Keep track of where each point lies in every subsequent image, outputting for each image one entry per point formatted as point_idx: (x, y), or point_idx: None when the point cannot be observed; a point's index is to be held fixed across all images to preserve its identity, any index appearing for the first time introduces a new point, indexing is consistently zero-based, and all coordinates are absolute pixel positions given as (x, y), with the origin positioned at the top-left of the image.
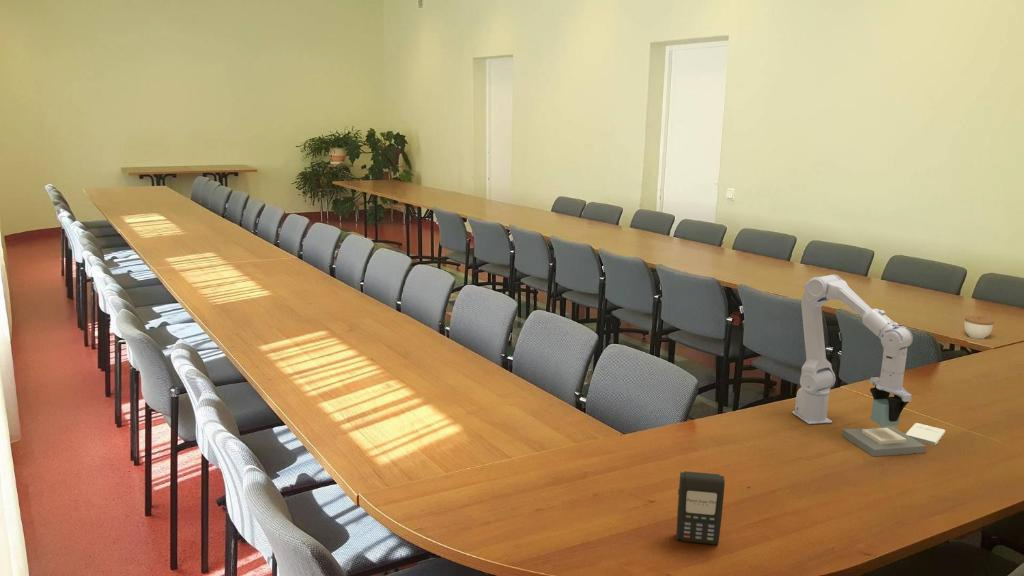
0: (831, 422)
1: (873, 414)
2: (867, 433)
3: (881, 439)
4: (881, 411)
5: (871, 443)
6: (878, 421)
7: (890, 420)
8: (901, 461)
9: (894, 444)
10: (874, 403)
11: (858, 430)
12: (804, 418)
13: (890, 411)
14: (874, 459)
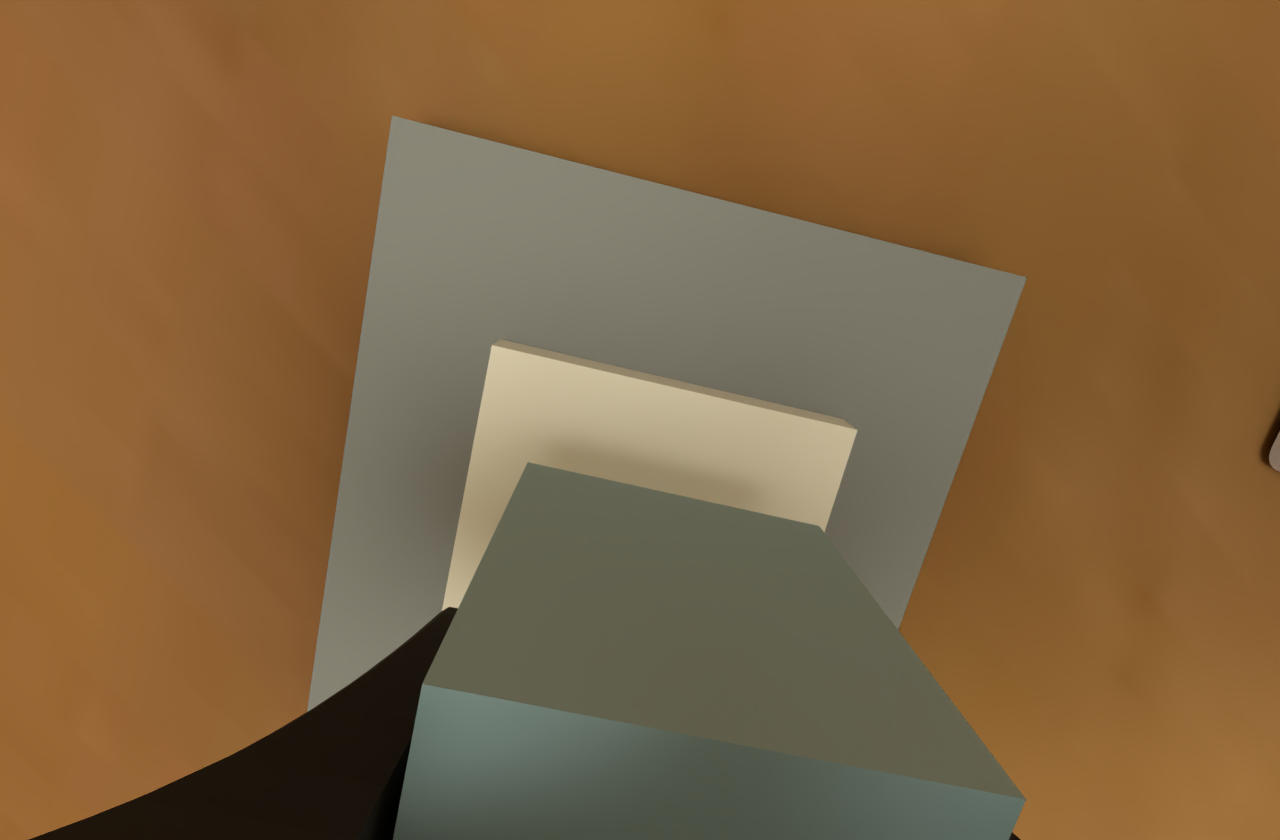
0: (1272, 451)
1: (804, 567)
2: (750, 402)
3: (521, 391)
4: (582, 593)
5: (557, 253)
6: (640, 504)
7: (445, 613)
8: (232, 331)
9: (439, 493)
10: (906, 719)
11: (908, 436)
12: None
13: (363, 702)
14: (358, 77)
